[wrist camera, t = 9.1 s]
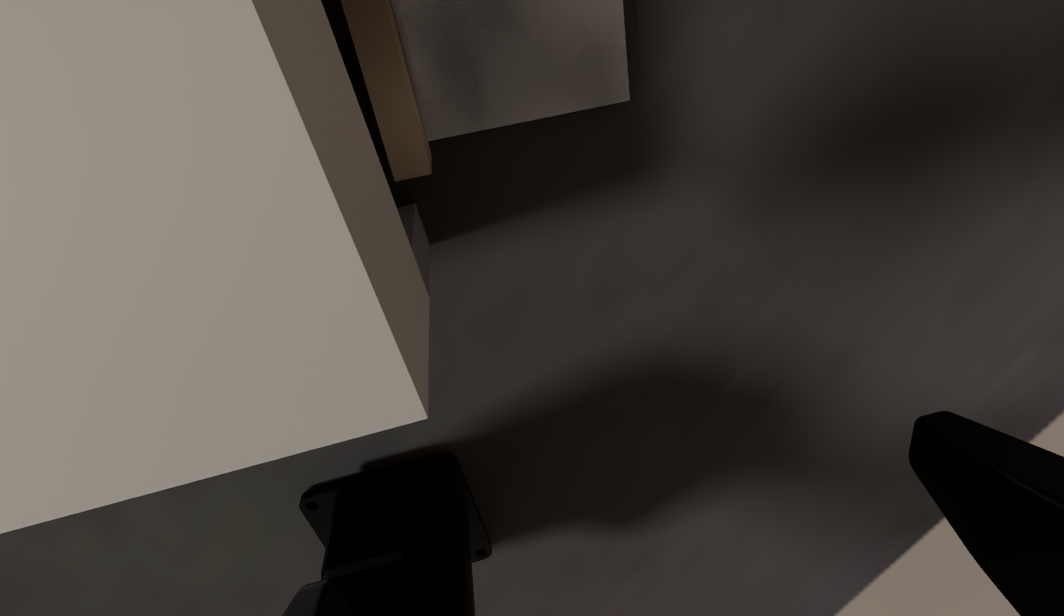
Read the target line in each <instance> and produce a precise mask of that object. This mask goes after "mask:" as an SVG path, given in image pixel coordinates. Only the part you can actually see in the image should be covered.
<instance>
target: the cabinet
mask: <svg viewBox="0 0 1064 616" xmlns="http://www.w3.org/2000/svg"><path fill="white" fill-rule="evenodd" d="M429 275H430V245H429V242H428V239H427V236H426V233H425V230H424V227H423V224H422V221H421V219H420V216H419V213H418V210H417V207H416V204H415V203H414V204H410V205H406V206H403V207H399V208H396V205H395V202H394V199H393V197H392V194H391V191H390V188H389V186H388V183H387V180H386V177H385V175H384V172H383V169H382V166H381V164H380V161H379V158H378V155H377V153H376V150H375V147H374V144H373V142H372V139H371V136H370V134H369V131H368V128H367V125H366V123H365V120H364V117H363V114H362V112H361V109H360V106H359V103H358V101H357V98H356V95H355V92H354V90H353V87H352V84H351V81H350V79H349V76H348V73H347V70H346V68H345V65H344V62H343V59H342V57H341V54H340V51H339V49H338V46H337V43H336V40H335V38H334V35H333V32H332V29H331V27H330V24H329V21H328V18H327V16H326V13H325V10H324V7H323V5H322V2H321V0H0V534H1V533H5V532H8V531H12V530H16V529H19V528H23V527H27V526H30V525H34V524H38V523H42V522H45V521H49V520H53V519H56V518H60V517H64V516H68V515H71V514H75V513H79V512H82V511H86V510H90V509H94V508H97V507H101V506H105V505H108V504H112V503H116V502H119V501H123V500H127V499H131V498H134V497H138V496H142V495H145V494H149V493H153V492H157V491H160V490H164V489H168V488H171V487H175V486H179V485H183V484H186V483H190V482H194V481H197V480H201V479H205V478H209V477H212V476H216V475H220V474H223V473H227V472H231V471H234V470H238V469H242V468H246V467H249V466H253V465H257V464H260V463H264V462H268V461H272V460H275V459H279V458H283V457H286V456H290V455H294V454H298V453H301V452H305V451H309V450H312V449H316V448H320V447H324V446H327V445H331V444H335V443H338V442H342V441H346V440H349V439H353V438H357V437H361V436H364V435H368V434H372V433H375V432H379V431H383V430H387V429H390V428H394V427H398V426H401V425H405V424H409V423H413V422H416V421H420V420H424V419H427V418H428V366H429Z"/></svg>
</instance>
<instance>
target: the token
mask: <svg viewBox="0 0 1064 616" xmlns="http://www.w3.org/2000/svg"><path fill="white" fill-rule="evenodd" d="M391 3H392V7H393V11H394V15H395V19H396V23H397V27H398V31H399V34H400V38H401V42H402V46H403V50H404V54H405V58H406V62H407V66H408V70H409V73H410V77H411V81H412V85H413V89H414V93H415V97H416V101H417V105H418V108H419V112H420V116H421V120H422V124H423V128H424V132H425V136H426V140H427V141H432V140H437V139H442V138H447V137H452V136H457V135H462V134H467V133H472V132H476V131H481V130H486V129H491V128H496V127H501V126H506V125H511V124H516V123H521V122H526V121H531V120H536V119H541V118H546V117H551V116H556V115H560V114H565V113H570V112H575V111H580V110H585V109H590V108H595V107H600V106H605V105H610V104H615V103H620V102H625V101H630V96H629V82H628V67H627V53H626V39H625V24H624V10H623V0H391Z"/></svg>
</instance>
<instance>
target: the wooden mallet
mask: <svg viewBox="0 0 1064 616" xmlns="http://www.w3.org/2000/svg"><path fill="white" fill-rule="evenodd" d="M341 3H342V7H343V10H344V13H345V17H346V20H347V23H348V27H349V30H350V33H351V37H352V40H353V43H354V47H355V50H356V53H357V57H358V60H359V63H360V67H361V70H362V73H363V77H364V80H365V83H366V87H367V90H368V93H369V97H370V100H371V103H372V107H373V110H374V113H375V117H376V120H377V123H378V127H379V130H380V133H381V137H382V140H383V143H384V147H385V150H386V153H387V157H388V160H389V164H390V167H391V170H392V174H393V177H394V180H395V182H396V181H400V180H405V179H410V178H415V177H420V176H424V175H429V174H431V151H430V147H429V143H428V141H427V140H426V136H425V132H424V128H423V124H422V120H421V116H420V112H419V108H418V105H417V101H416V97H415V93H414V89H413V85H412V81H411V77H410V73H409V70H408V66H407V62H406V58H405V54H404V50H403V46H402V42H401V38H400V34H399V31H398V27H397V23H396V19H395V15H394V11H393V7H392V3H391V0H341Z"/></svg>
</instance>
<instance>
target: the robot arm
mask: <svg viewBox="0 0 1064 616" xmlns="http://www.w3.org/2000/svg"><path fill="white" fill-rule="evenodd" d="M909 461H910V464H911V466H912V469H913V470H914V472H915V474H916V475H917V477H918V478H919V479H920V481H921V482H922V484H923V485H924V487H925V488H926V490H927V491H928V493H929V494H930V496H931V497H932V498H933V500H934V501H935V503H936V504H937V506H938V507H939V509H940V510H941V512H942V513H943V514H944V516H945V517H946V519H947V520H948V522H949V523H950V525H951V526H952V528H953V529H954V530H955V532H956V533H957V535H958V536H959V538H960V539H961V541H962V542H963V544H964V545H965V547H966V548H967V549H968V551H969V552H970V553H971V555H972V556H973V558H974V559H975V560H976V562H977V563H978V564H979V565H980V567H981V568H982V569H983V571H984V572H985V573H986V574H987V576H988V577H989V578H990V579H991V581H992V582H993V583H994V584H995V585H996V587H997V588H998V589H999V590H1000V592H1001V593H1002V594H1003V595H1004V596H1005V598H1006V599H1007V600H1008V601H1009V602H1010V604H1011V605H1012V606H1013V607H1014V608H1015V610H1016V611H1017V612H1018V613H1019V614H1020V616H1064V457H1063V456H1060V455H1058V454H1055V453H1053V452H1050V451H1047V450H1045V449H1042V448H1040V447H1038V446H1035V445H1032V444H1030V443H1027V442H1025V441H1022V440H1020V439H1017V438H1015V437H1012V436H1010V435H1007V434H1005V433H1002V432H1000V431H997V430H995V429H992V428H990V427H987V426H985V425H982V424H980V423H977V422H975V421H972V420H970V419H967V418H965V417H962V416H960V415H957V414H955V413H952V412H948V411H939V412H935V413H932V414H928V415H924V416H921V417H919V418H918V419H917V420H916V421H915V423H914V428H913V433H912V438H911V444H910V449H909ZM444 465H448V467H442V466H444ZM313 502H316V503H313ZM299 507H300V510H301V511H302V513H303V514H304V516H305V518H306V519H307V521H308V522H309V524H310V525H311V527H312V528H313V530H314V531H315V533H316V534H317V536H318V537H319V539H320V540H321V542H322V543H323V545H324V546H325V548H326V550H325V555H324V560H323V566H322V571H321V577H322V578H321V581H318V582H314V583H310V584H307V585H305V586H303V587H302V588H300V590H299V591H298V592H297V593H296V595H295V596H294V598H293V599H292V601H291V603H290V604H289V606H288V607H287V609H286V610H285V612H284V614H283V615H282V616H475V606H474V591H473V576H472V563H473V562H476V561H480V560H484V559H486V558H488V557H489V556H491V554H492V547H491V541H490V539H489V536H488V534H487V531H486V529H485V526H484V524H483V521H482V519H481V516H480V514H479V511H478V509H477V507H476V504H475V502H474V499H473V497H472V494H471V492H470V489H469V487H468V484H467V482H466V479H465V477H464V474H463V472H462V470H461V467H460V465H459V462H458V460H457V458H456V457H455V456H454V455H452V454H440V455H437V456H433V457H429V458H426V459H422V460H418V461H415V462H411V463H407V464H403V465H400V466H396V467H392V468H389V469H385V470H381V471H378V472H374V473H370V474H367V475H363V476H359V477H355V478H352V479H348V480H344V481H341V482H337V483H333V484H330V485H326V486H322V487H319V488H315V489H311V490H308V491H306V492H304V493H303V494H302V496H301V500H300V504H299Z"/></svg>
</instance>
